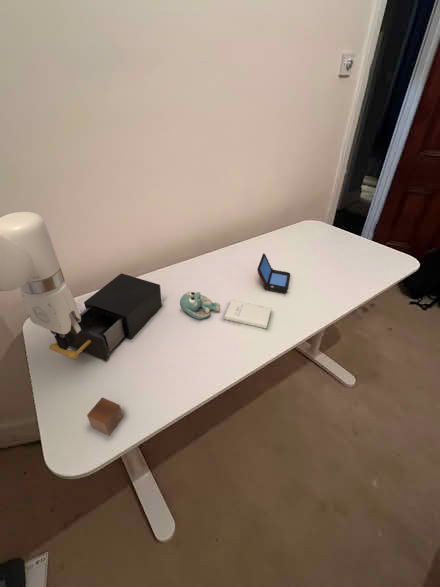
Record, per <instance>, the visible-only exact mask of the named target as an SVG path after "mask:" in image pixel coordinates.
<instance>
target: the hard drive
mask: <svg viewBox="0 0 440 587" xmlns="http://www.w3.org/2000/svg"><path fill="white" fill-rule="evenodd" d="M271 313H272V308H271V307H267V306H262V305H257V304H252V303H247V302H242V301H238V300H230V303H229V305H228V306H227V310H226V312H225V314H224V320H225V321H227V320H228V321H230V322H235V323H240V324H244V325H248V326H252V327H257V328H260V329H265V330H266V329H267V328H268V324H269V320H270V316H271Z"/></svg>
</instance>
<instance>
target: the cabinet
mask: <svg viewBox="0 0 440 587" xmlns="http://www.w3.org/2000/svg"><path fill="white" fill-rule="evenodd" d="M161 290H162V289H161V284H159V283H155V282H153V281H149V280H147V279H142V278H139V277H135V276H132V275H128V274H125V273H122V272H120V273H119V274H118V275H116V277H114V278H113V279H112V280H110V281H109V282H108V283H106V284H105V285H104V286H102V287H101V288H100V289H98V291H96V292H95V293H94V294H92V295H91V296H90V297H89V298H87V299H86V300H84V301H83V304H84V307H85V308H84V309H87V308H88V307H89V306H91V307H93V308H96V309H99V310H102V311H105V312H108V313H111V314H114V315H117V316H119V317H122V318H125V323H126V328H127V333H128V334H127V335H126V336H125V337H124V339H128V340H132V339H133V338H134V337H136V335H137V334H138V333H139V332H140V331H141V330H142V329H143V327H145V325H147V324H148V322H149V321H150V320H152V318H153V317H154V316H155V315H156V314H157V312H158V311H160V310H161V308H162V307H163V300H162V294H161V293H162V292H161Z"/></svg>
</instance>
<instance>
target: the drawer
mask: <svg viewBox="0 0 440 587" xmlns="http://www.w3.org/2000/svg"><path fill="white" fill-rule="evenodd" d="M79 313H80V316H81V322H77V323H78V325H79V326H80V328H81V331H80V332H79V333H78V334H73V335H74V338H75V342H74V343H73V344H72V345H71V346H70V347H69V348H71V349H75V350H76V351H73V350H71V349H69V348H68V349H67V350H64V349H63V348H62V349H61V348H59V346H58V343H57V341H56V342H55V343H51V344H50V345H49V346H48V349H49V350H51V351H53V352H56V353H58V354H60V355H62V356H66V357H68V358H70V359H72V360H76V359H78V357H79V354H80V353H82V352H83V353H85V354H87V355H90V356H92V357H94V358H97V359H100V360H101V361H105V362H106V361H107V360H108V359H109V354H108V353H111V352H112V351H113V349H115V347H116V346H118V345H119V343H120V342H121V341H122V340H123V339H125V336H126V335H127V334H128V333H127V328H126V323H125V318H122V317H119V316H117V315H114V314H111V313H108V312H105V311H102V310H99V309H96V308H93V307H91V306H89V307H88V308H87V309H86V308H84V309H83V311H82V312H79Z"/></svg>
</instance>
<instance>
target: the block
mask: <svg viewBox="0 0 440 587" xmlns="http://www.w3.org/2000/svg"><path fill="white" fill-rule="evenodd" d="M86 416H87V419H88V422H89V424H90V427H91V428H93V429H95V430H96V431H98V432H101V433H102V434H105V435H106V436H108V437H110V436H111V434H112V433H113V432H114V430H115V429H116V428H117V426H118V425H119V423H120V422H121V421H122V420H123V418H124V415H123V412H122V408H121V405H120V404H118V403H116V402H114V401H112V400H110V399H107V398H105V397H103V396H102V397H101V398H100V399H99V400H98V401H97V402H96V404H95V405H94V406H93V407H92V408H91V409H90V411H89V412H88V413H87V414H86Z"/></svg>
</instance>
